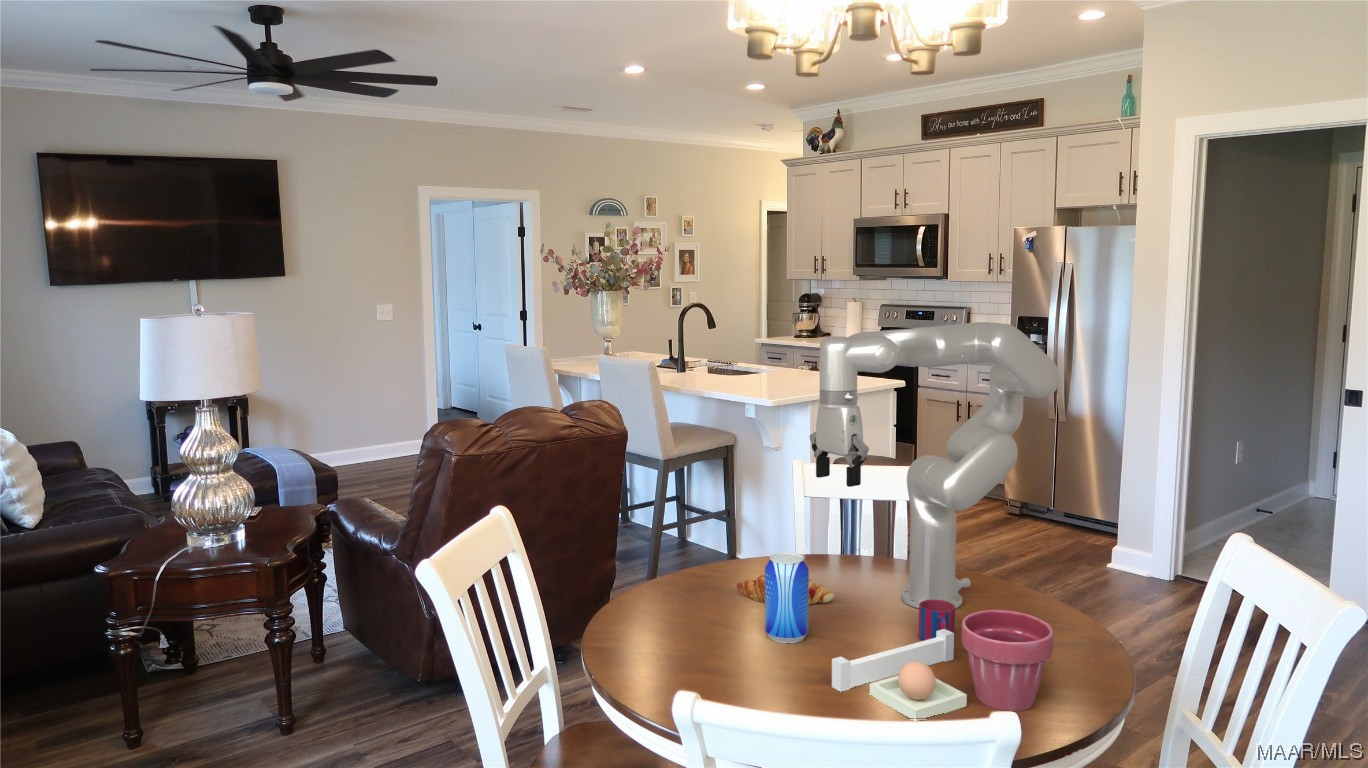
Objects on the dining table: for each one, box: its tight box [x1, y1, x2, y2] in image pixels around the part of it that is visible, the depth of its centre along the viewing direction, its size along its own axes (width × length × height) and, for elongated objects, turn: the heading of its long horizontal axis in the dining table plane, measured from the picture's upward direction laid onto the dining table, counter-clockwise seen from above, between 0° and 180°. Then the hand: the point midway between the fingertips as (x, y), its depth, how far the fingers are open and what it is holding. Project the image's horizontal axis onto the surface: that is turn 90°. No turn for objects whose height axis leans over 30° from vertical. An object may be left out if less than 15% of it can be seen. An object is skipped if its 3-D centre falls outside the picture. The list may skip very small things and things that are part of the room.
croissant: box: [736, 574, 835, 605], centre depth 198 cm, size 21×10×8 cm, turn 77°
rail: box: [831, 629, 955, 693], centre depth 161 cm, size 26×2×5 cm, turn 119°
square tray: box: [869, 674, 968, 722], centre depth 151 cm, size 11×11×2 cm
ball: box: [897, 661, 937, 700], centre depth 151 cm, size 6×6×6 cm
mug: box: [918, 599, 956, 642], centre depth 174 cm, size 7×10×7 cm
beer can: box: [764, 551, 810, 644], centre depth 177 cm, size 8×8×16 cm
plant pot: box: [961, 609, 1054, 712], centre depth 150 cm, size 14×14×13 cm
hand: (837, 481), depth 186 cm, fingers open, 9 cm apart
